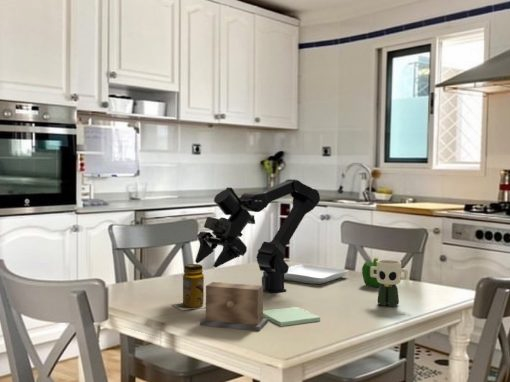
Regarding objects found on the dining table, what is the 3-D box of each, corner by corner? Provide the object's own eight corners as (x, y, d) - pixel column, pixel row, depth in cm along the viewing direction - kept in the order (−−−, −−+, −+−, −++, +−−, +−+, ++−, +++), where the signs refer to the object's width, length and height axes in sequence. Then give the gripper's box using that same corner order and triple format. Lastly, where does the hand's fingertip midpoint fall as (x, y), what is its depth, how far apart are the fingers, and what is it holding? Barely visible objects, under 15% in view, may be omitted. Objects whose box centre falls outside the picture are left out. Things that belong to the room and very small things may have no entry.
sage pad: (296, 310, 163) (297, 306, 163) (320, 320, 153) (320, 317, 153) (259, 314, 158) (259, 311, 158) (280, 326, 147) (280, 322, 147)
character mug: (367, 305, 169) (368, 262, 168) (371, 300, 176) (372, 258, 175) (405, 309, 165) (406, 264, 165) (408, 304, 172) (409, 261, 171)
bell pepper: (363, 282, 202) (363, 254, 202) (386, 284, 200) (387, 255, 199) (360, 287, 194) (361, 258, 194) (385, 289, 192) (385, 259, 191)
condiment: (209, 307, 166) (209, 266, 165) (182, 311, 161) (182, 268, 161) (197, 301, 172) (197, 262, 172) (171, 305, 167) (171, 264, 167)
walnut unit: (199, 325, 147) (200, 286, 147) (210, 317, 155) (211, 280, 154) (259, 330, 143) (260, 291, 142) (267, 322, 151) (268, 284, 150)
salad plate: (300, 271, 224) (300, 262, 223) (350, 278, 211) (350, 269, 211) (270, 280, 206) (270, 270, 206) (322, 288, 194) (322, 278, 194)
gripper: (202, 205, 179) (171, 243, 173) (239, 209, 165) (208, 251, 159) (221, 229, 185) (193, 266, 178) (259, 234, 171) (230, 275, 164)
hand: (205, 264), depth 170 cm, fingers open, 9 cm apart
